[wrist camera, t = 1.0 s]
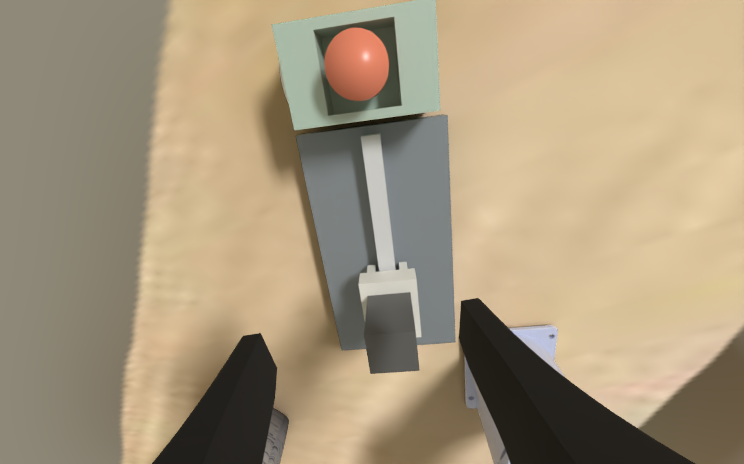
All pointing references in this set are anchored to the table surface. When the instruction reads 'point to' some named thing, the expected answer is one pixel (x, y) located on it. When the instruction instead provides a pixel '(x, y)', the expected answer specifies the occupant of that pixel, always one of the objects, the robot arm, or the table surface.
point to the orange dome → (356, 64)
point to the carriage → (390, 318)
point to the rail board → (383, 216)
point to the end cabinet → (405, 53)
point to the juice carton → (275, 438)
